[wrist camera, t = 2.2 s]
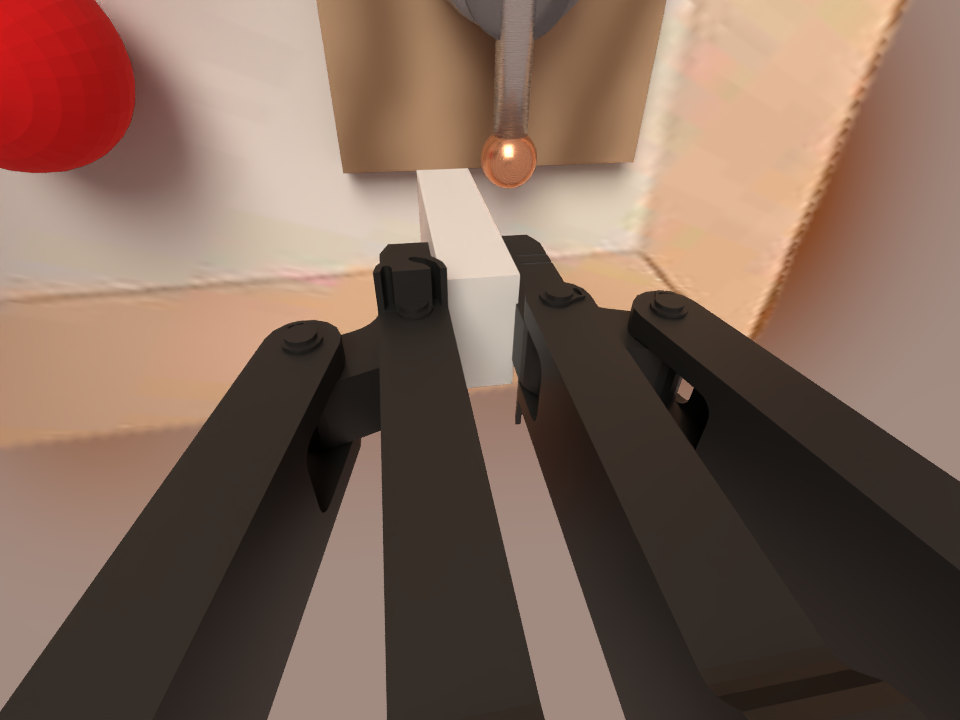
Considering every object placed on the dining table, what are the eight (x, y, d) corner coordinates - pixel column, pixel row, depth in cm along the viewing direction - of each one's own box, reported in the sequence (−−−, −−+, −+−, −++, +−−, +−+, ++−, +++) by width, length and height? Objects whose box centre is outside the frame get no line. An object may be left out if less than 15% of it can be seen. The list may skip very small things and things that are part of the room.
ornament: (-117, -26, 22) (-384, -26, 14) (61, -108, 21) (-114, -153, 13) (56, 168, 27) (-67, 244, 20) (200, 107, 27) (132, 162, 19)
